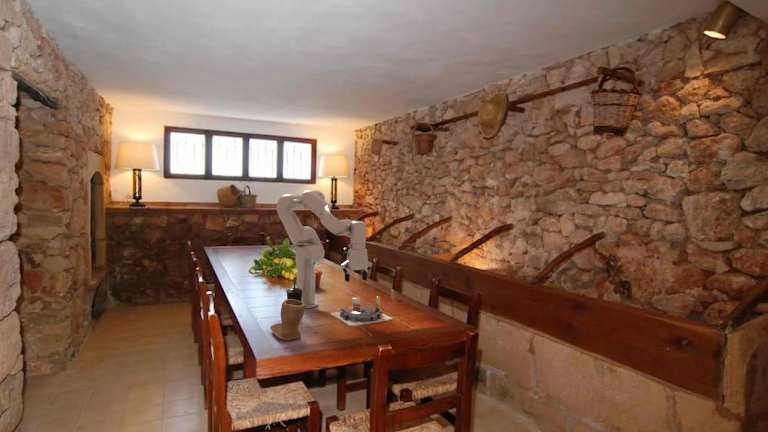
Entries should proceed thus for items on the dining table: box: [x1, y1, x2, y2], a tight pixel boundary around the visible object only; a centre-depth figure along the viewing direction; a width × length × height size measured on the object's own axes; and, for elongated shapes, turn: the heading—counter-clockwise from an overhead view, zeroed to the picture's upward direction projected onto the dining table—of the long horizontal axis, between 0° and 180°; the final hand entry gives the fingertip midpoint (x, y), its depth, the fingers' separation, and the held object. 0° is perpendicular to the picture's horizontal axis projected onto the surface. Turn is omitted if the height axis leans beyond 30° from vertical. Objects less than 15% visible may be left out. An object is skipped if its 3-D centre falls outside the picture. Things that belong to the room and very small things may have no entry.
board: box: [330, 311, 394, 328], centre depth 205 cm, size 23×21×1 cm
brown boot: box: [270, 298, 306, 341], centre depth 175 cm, size 15×12×15 cm
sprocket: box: [339, 295, 384, 322], centre depth 205 cm, size 21×21×9 cm
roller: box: [351, 296, 361, 309], centre depth 210 cm, size 4×4×5 cm
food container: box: [295, 268, 323, 291], centre depth 262 cm, size 16×16×11 cm
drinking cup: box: [286, 276, 303, 301], centre depth 198 cm, size 8×8×20 cm
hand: (355, 280), depth 209 cm, fingers open, 9 cm apart
